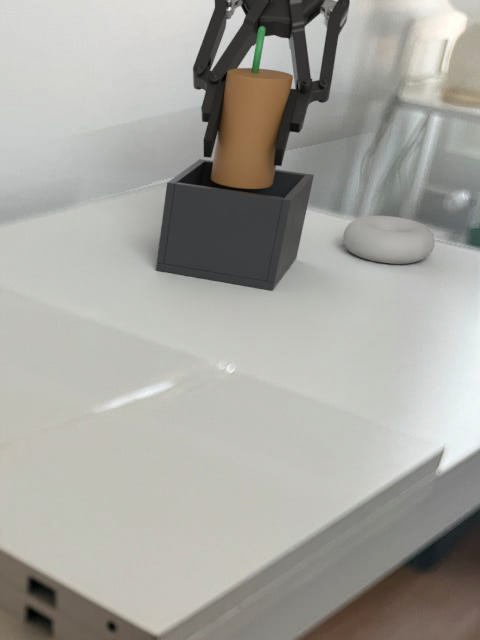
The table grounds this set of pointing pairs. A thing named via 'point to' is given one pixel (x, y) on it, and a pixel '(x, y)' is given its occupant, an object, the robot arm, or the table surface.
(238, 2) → the robot arm
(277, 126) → the paper cup
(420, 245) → the donut
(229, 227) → the bin
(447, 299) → the table surface
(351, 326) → the table surface
